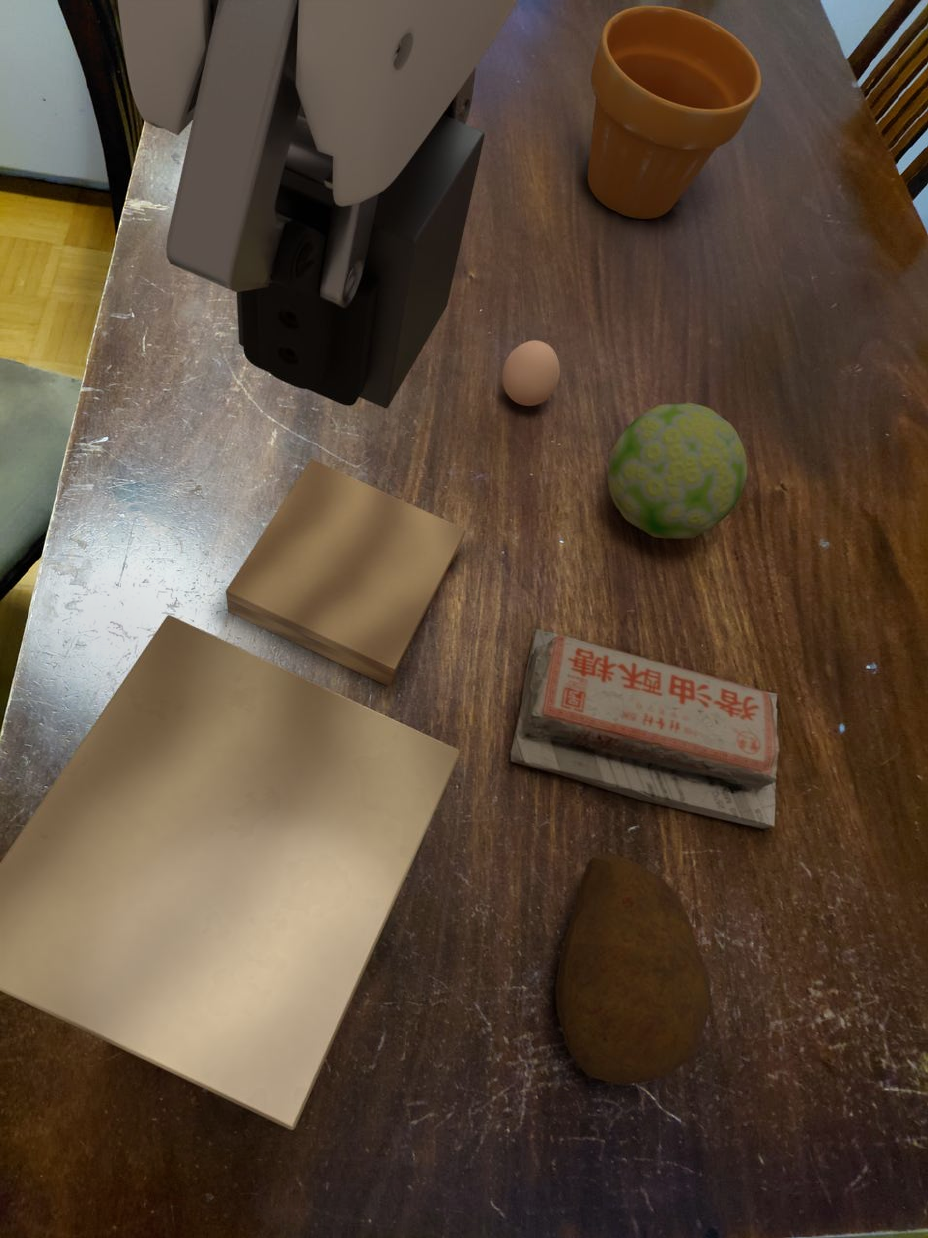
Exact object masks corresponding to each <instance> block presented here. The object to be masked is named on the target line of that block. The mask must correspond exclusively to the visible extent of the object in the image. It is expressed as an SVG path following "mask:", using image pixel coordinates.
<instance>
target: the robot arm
mask: <svg viewBox="0 0 928 1238" xmlns="http://www.w3.org/2000/svg"><path fill="white" fill-rule="evenodd" d="M518 1H519V0H117V7H118V15H119V24H120V33H121V38H122V47H123V53H124V61H125V66H126V71H127V77H128V82H129V87H130V90H131V93H132V97H133V100H134V103H135V106H136V108H137V111H138V112H139V114H140V116H141V118H142V120H143V121H144V122H145V123H146V124H149V125H151V126H153V127H154V128H157V129H164V130H166V131H168V132H170V133H172V134H174V135H176V136H179V135H180V134H181V133H182V132H183V131H184V130H185V129H186V128H187V127H188V125H190V123H191V126H190V130H189V136H188V140H187V144H186V149H185V154H184V159H183V163H182V169H181V173H180V178H179V182H178V186H177V191H176V195H175V200H174V205H173V208H172V209H173V210H172V215H171V218H170V224H169V229H168V233H167V238H166V247H165V251H166V259H167V261H168V262H169V264H170V265H172V266H174V267H177V268H179V269H182V270H184V271H186V272H188V273H190V274H193V275H196V276H197V277H200V278H202V279H205V280H207V281H209V282H210V283H214V284H216V285H219V286H221V287H223V288H225V289H227V290H230V291H232V292H235V293H237V292H240V291H241V303H242V326H243V346H242V347H243V349H242V351H243V354H244V356H245V358H246V360H247V361H248V362H249V363H250V364H251V365H252V366H254V367H256V368H258V369H260V370H262V371H264V372H267V373H269V374H270V375H271V376H272V377H274V378H275V379H278V380H279V381H281V382H283V383H286V384H288V385H290V386H293V387H294V388H298V389H301V390H307V391H311V392H313V393H315V394H316V395H317V394H318V395H319V396H322V397H324V398H326V399H329V400H330V401H333V402H335V403H337V404H340V405H342V406H346V407H350V406H351V407H352V406H354V405H355V404H356V403H357V402H358V400H359V398H360V397H359V396H360V395H361V393H362V391H363V390H364V387H365V379H366V371H367V363H368V355H369V348H370V340H371V332H372V324H373V316H374V308H375V301H376V293H377V285H378V281H377V280H375V279H372V278H370V277H369V276H368V275H367V274H365V273H363V271H364V266H365V261H366V256H367V251H368V246H369V241H370V236H371V231H372V225H373V220H374V215H375V210H376V205H377V200H378V195H379V193H380V192H382V191H384V190H385V189H386V188H387V187H388V186H389V185H390V184H391V183H392V182H393V181H394V180H395V179H396V177H397V176H398V175H399V174H400V172H401V171H402V170H403V168H404V167H405V166H406V165H407V163H408V162H409V160H410V159H411V158H412V156H413V155H414V154H415V152H416V151H417V149H418V148H419V147H420V145H421V144H422V143H423V141H424V140H425V138H426V137H427V136H428V134H429V133H430V131H431V130H432V129H433V127H434V126H435V124H436V123H437V122H438V120H439V119H440V117H441V116H442V114H443V115H445V116H448V117H450V118H452V119H455V120H457V121H459V122H462V123H464V124H466V125H467V122H468V118H469V117H470V112H471V108H472V101H473V95H474V88H475V87H474V86H475V79H476V71H477V65H478V64H479V63H480V61H481V60H482V58H483V57H484V56H485V54H486V53H487V51H488V50H489V49H490V47H491V45H492V43H493V42H494V40H495V39H496V38H497V36H498V35H499V33H500V31H501V30H502V28H503V27H504V25H505V24H506V22H507V21H508V19H509V17H510V16H511V14H512V13H513V11H514V9H515V7H516V6H517V3H518ZM301 104H302V106H303V109H304V112H305V115H306V118H307V119H306V118H303V117H301V116H299V115H298V112H299V109H300V105H301ZM284 169H286V170H288V171H291V172H293V173H295V174H298V175H300V176H302V177H305V178H307V179H309V180H312V181H314V182H316V183H318V184H321V185H323V186H325V187H328V188H330V189H332V190H333V196H334V203H333V209H332V216H331V222H330V228H329V234H328V236H326V235H324V234H322V233H320V232H319V231H317V230H315V229H313V228H311V227H309V226H307V225H304V224H302V223H300V222H298V221H294V220H292V219H290V218H288V217H285V216H283V215H281V214H278V213H276V212H275V206H276V198H277V193H278V189H279V185H280V181H281V177H282V174H283V170H284Z"/></svg>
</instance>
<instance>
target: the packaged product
mask: <svg viewBox="0 0 928 1238" xmlns="http://www.w3.org/2000/svg"><path fill="white" fill-rule="evenodd" d="M529 651H530V652H529V656H528V660H527V666H526V670H525V673H524V674H525V675H524V681H523V689H522V697H521V703H520V704H521V705H520V709H519V713H518V717H517V722H516V727H515V732H514V735H513V741H512V745H511V750H510V762H511V763H515V764H518V765H521V766H527V767H529V768H533V769H538V770H541V771H546V772H549V773H553V774H555V775H559V776H562V777H565V778H568V779H572V780H574V781H578V782H580V783H584V784H587V785H590V786H593V787H596V788H600V789H603V790H607V791H610V792H613V793H616V794H618V795H622V796H626V797H629V798H632V799H635V800H639V801H642V802H647V803H652V804H655V805H660V806H663V807H667V808H668V807H669V808H673V809H677V810H682V811H685V812H690V813H694V814H698V815H703V816H705V817H712V818H715V819H719V820H724V821H728V822H731V823H736V824H741V825H744V826H748V827H753V828H758V829H770V828H774V827H775V826H776V825H775V822H776V821H775V820H776V788H777V785H776V783H777V780H778V778H777V771H778V760H779V754H780V751H781V749H780V745H779V744H780V743H779V737H778V735H777V733H778V731H777V730H778V708H777V700H778V693H775V692H769V691H766V690H764V689H758V688H757V687H754V686H752V685H748V684H745V683H739V682H736V681H731V680H729V679H725V678H721V677H717V676H715V675H710V674H706V673H702V672H698V671H696V670H692V669H688V668H685V667H681V666H679V665H678V666H677V665H672V664H669V663H666V662H663V661H659V660H655V659H651V658H648V657H644V656H642V655H641V656H640V655H638V654H635V653H634V654H633V653H630V652H626V651H622V650H618V649H616V648H611V647H608V646H604V645H601V644H597V643H594V642H591V641H585V640H582V639H578V638H575V637H572V636H568V635H565V634H558V633H555V632H551V631H547V630H543V629H540V628H536V629H534V633H533V638H532V643H531V647H530V650H529Z"/></svg>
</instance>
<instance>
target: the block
mask: <svg viewBox="0 0 928 1238" xmlns="http://www.w3.org/2000/svg"><path fill="white" fill-rule="evenodd" d="M298 115H299V116H301V117H303V118H306V115H305V112H304V109H303V106H302V104H301V105H300V109H299V112H298ZM306 119H307V118H306ZM485 135H486V133H485V132H484V131H482V130H481V129H478V128H475V127H473V126H471V125H469V124H467V123H466V124H464V123H462V122H459V121H457V120H455V119H452V118H450V117H448V116H445V115H443V114H442V116H441V117H440V119H439V120H438V122H437V123H436V124H435V126H434V127H433V129H432V130H431V131H430V133H429V134H428V136H427V137H426V138H425V140H424V141H423V143H422V144H421V145H420V147H419V148H418V149H417V151H416V152H415V154H414V155H413V156H412V158H411V159H410V160H409V162H408V163H407V165H406V166H405V167H404V168H403V170H402V171H401V172H400V174H399V175H398V176H397V177H396V179H395V180H394V181H393V182H392V183H391V184H390V185H389V186H388V187H387V188H386V189H385V190H384V191H382V192H380V193H379V195H378V200H377V205H376V210H375V215H374V220H373V225H372V231H371V236H370V241H369V246H368V251H367V256H366V261H365V266H364V271H363V273H365V274H367V275H368V276H369V277H370V278H372V279H375V280H377V281H378V285H377V293H376V301H375V308H374V316H373V324H372V332H371V340H370V348H369V355H368V363H367V371H366V379H365V387H364V390H363V391H362V393H361V395H360V396H359V398H360V399H363V400H364V401H367V402H368V403H369V402H370V403H372V404H374V405H375V406H379V407H381V408H383V409H388V408H389V407H390V405H391V404H392V402H393V400H394V398H395V396H396V395H397V393H398V391H399V390H400V388H401V387H402V385H403V382H404V381H405V380H406V378H407V376H408V375H409V372H410V371H411V369H412V367H413V366H414V364H415V362H416V361H417V359H418V357H419V355H420V354H421V353H422V352H421V351H422V350H423V348H424V346H425V345H426V343H427V342H428V340H429V338H430V336H431V335H432V333H433V331H434V329H435V327H436V326H437V324H438V323H439V321H440V318H441V317H442V316H443V314H444V312H445V310H446V309H447V307H448V303H449V299H450V294H451V290H452V286H453V281H454V276H455V271H456V267H457V263H458V258H459V254H460V250H461V245H462V242H463V241H462V240H463V237H464V231H465V227H466V223H467V217H468V213H469V208H470V204H471V200H472V195H473V190H474V187H475V183H476V177H477V172H478V168H479V164H480V159H481V154H482V150H483V145H484V140H485V137H486V136H485ZM333 203H334V196H333V190H332V189H330V188H328V187H325V186H323V185H321V184H318V183H316V182H314V181H312V180H309V179H307V178H305V177H302V176H300V175H298V174H295V173H293V172H291V171H288V170H286V169H284V170H283V174H282V177H281V181H280V185H279V189H278V193H277V198H276V206H275V212H276V213H278V214H281V215H283V216H285V217H288V218H290V219H292V220H294V221H298V222H300V223H302V224H304V225H307V226H309V227H311V228H313V229H315V230H317V231H319V232H320V233H322V234H324V235H326V236H328V234H329V228H330V222H331V216H332V209H333ZM236 310H237V313H236V314H237V328H238V329H237V330H238V344H239V345H240V346H242V347H243V326H242V303H241V291H240V292H236Z"/></svg>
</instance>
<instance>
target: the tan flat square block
mask: <svg viewBox="0 0 928 1238" xmlns="http://www.w3.org/2000/svg"><path fill="white" fill-rule="evenodd" d="M466 532H467V530H466V528H463V527H461V526H459V525H458V524H457V525H456V524H455V523H452V522H451V521H448V520H446V519H444V518H442V517H439V516H437V515H435V514H433V513H431V512H429V511H426V510H424V509H423V508H420V507H418V506H415V505H413V504H411V503H409V502H406V501H404V500H403V499H400V498H398V497H396V496H393V495H391V494H389V493H387V492H385V491H383V490H380V489H378V488H376V487H374V486H373V485H370V484H367V483H365V482H363V481H361V480H359V479H356V478H354V477H353V476H350V475H348V474H346V473H344V472H342V471H340V470H337V469H335V468H332V467H330V466H329V465H327V464H323V462H320V461H317V460H315V459H313V458H310V460H309V461H308V463H307V465H306V466H305V467H304V469H303V470H302V472H301V474H300V476H299V477H298V479H296V482H295V483H294V484H293V486H292V488H291V489H290V490H289V492H288V493H287V495H286V497H285V498H284V500H283V502H282V503H281V505H280V506H279V508H278V509H277V510H276V512H275V513H274V515H273V517H272V519H271V520H270V521H269V523H268V525H267V526H266V527H265V529H264V530H263V533H262V534H261V535H260V537H259V539H258V540H257V541H256V543H255V545H254V546H253V548H252V550H251V551H250V552H249V554H248V555H247V557H246V558H245V560H244V562H243V563H242V565H241V566H240V568H239V570H238V571H237V572H236V574H235V576H234V577H233V578H232V580H231V582H230V583H229V585H228V587H227V588H226V590H225V597H226V607H227V612H228V613H230V614H232V615H234V616H237V617H239V618H241V619H243V620H245V621H247V622H249V623H251V624H253V625H256V626H258V627H260V628H262V629H264V630H266V631H268V632H271V633H272V634H275V635H277V636H280V637H281V638H284V639H286V640H288V641H290V642H292V643H295V644H296V645H298V646H301V647H303V648H305V649H307V650H310V651H312V652H314V653H316V654H318V655H320V656H322V657H324V658H326V659H328V660H331V661H333V662H335V663H336V664H337V663H338V664H340V665H342V666H344V667H346V668H348V669H350V670H352V671H355V672H356V673H359V674H361V675H363V676H366V677H367V678H370V679H372V680H374V681H376V682H378V683H380V684H382V685H384V686H387V687H389V688H390V687H391V686H392V684H393V683H394V680H395V678H396V676H397V674H398V672H399V669H400V666H401V665H400V664H401V663H402V660H403V659H404V656H405V654H406V653H407V650H408V648H409V646H410V645H411V642H412V640H413V638H414V636H415V634H416V632H417V631H418V628H419V626H420V625H421V623H422V621H423V619H424V617H425V614H426V613H427V611H428V609H429V607H430V605H431V603H432V601H433V599H434V597H435V595H436V593H437V591H438V589H439V588H440V585H441V584H442V581H443V579H444V577H445V575H446V573H447V571H448V569H449V567H450V565H451V564H454V561H455V560H456V558H457V555H458V554H459V552H460V548H461V546H462V543H463V540H464V537H465V534H466Z"/></svg>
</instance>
